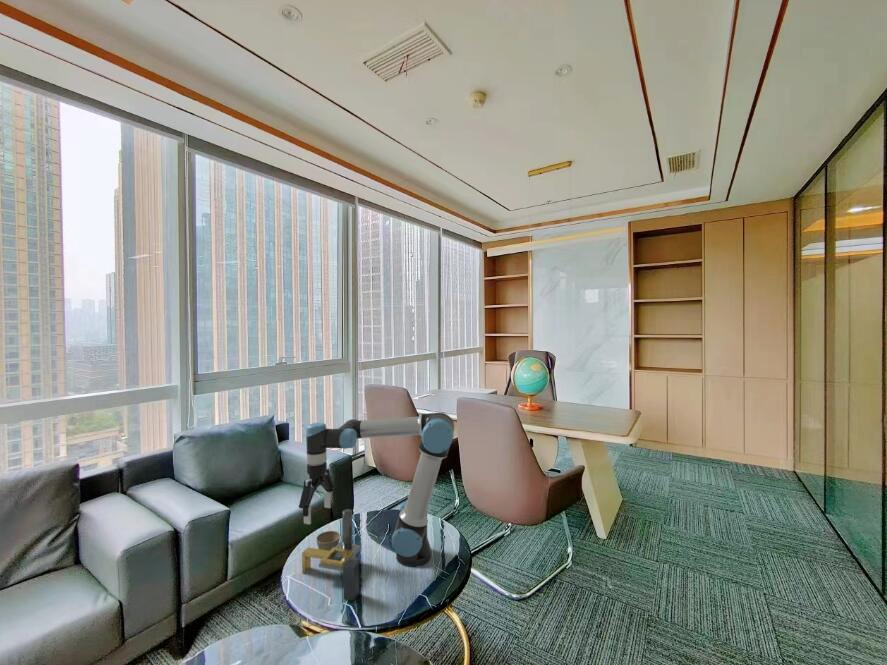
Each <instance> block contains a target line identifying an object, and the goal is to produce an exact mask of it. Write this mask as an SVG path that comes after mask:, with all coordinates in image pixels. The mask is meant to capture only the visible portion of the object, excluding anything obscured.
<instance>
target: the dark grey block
mask: <svg viewBox="0 0 887 665" xmlns="http://www.w3.org/2000/svg"><path fill="white" fill-rule="evenodd" d="M359 561H360V560H359ZM359 561H353V560H348V562H347V563H346V564H345V565H344V570H343V600H346V601H353V602H354V601H355V600H356V598H357V597H358V596H359V595H360V562H359Z"/></svg>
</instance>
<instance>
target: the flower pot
mask: <svg viewBox="0 0 887 665" xmlns="http://www.w3.org/2000/svg"><path fill="white" fill-rule="evenodd" d="M340 540H341V533H340V532H338V531H337V530H328V531H322V532H321V533H319V534H318V535H317V536H316V538H315V541H316V546H317V549H321V550H327V551H330V550H331V549H332V548H333V547H334V548H335V547H336V546H337V545H338V544H339V542H340Z"/></svg>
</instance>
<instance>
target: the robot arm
mask: <svg viewBox="0 0 887 665" xmlns="http://www.w3.org/2000/svg"><path fill="white" fill-rule="evenodd" d="M454 430H455V424H454V421H453V419H452V418H451V416H449V415H448V414H447V413H444V412H430V413H421V414H420V415H419V416H409V417H394V418H381V419H380V418H379V419H378V418H377V419H364V420H359V419H357V418H352V419H349V420H346V422H344V424H342V425H341V426H340V427H339V428H327V426H326V423H325V422H314V423H310V424H308V425H307V426H306V432H305V433H306V435H305V439H306V463H307V464H306V473H307V475H309V476H308V477H309V479H305V480H304V481H303V487H302V492H301V496H300V500H299V505H298V508H299V509H302V516H303V524H304V525H311V524H312V513H311V512H312V508H311V506H310V505H311V503H312V501H313V500H312V499H313V497H314V495H315V491H317V489H318V488H319V487H320V486H321V487H322V488H323V489H324V491H323V504H324V505H323V506H324V508H325V509H331V508H332V492H333V491H334V488H335V484H334V481H333V479H332V476H331V473H330V471H331V470H330V469H329V468H327V467H328V464H327V461H328V460H327V456H328V455H327V449H345V450H347V449H353V448H355V447H356V444H357V440H359V439H369V438H370V439H371V438H373V439H374V438H387V437H389V438H390V437H402V436H403V437H407V436H421V438H420V442H419V446H418V449H419V451H420V455H419V460H418V461H417V465H416V469H415V472H414V476H413V480H412V482H411V488H410V490H409V493H408V497H407V500H406V501H405V500H404V501H403V502H401V504H400V506H399V515H398V518H397V521H396V525H395V529H394V532H393V533H392V535H391V545H392V546H391V547H392V549H393V550H394V551H395V559H396V561H397V562H398V564H400V565H402V566H405V567H412V568H413V567H419V566H420V567H421V566H423V565H425V564H427V563H429V561H430V560H431V558H432V547H431V545H430V541H429V539H428V538H429V537H428V523H429V519H428V511H429V510H428V509H429V505H430V502H431V498H432V495H433V491H434V488H435V485H436V482H437V478H438V476H439V475H438V474H439V471H440V467H441V464H442V460H444V459H446V458H448V453H449V450H450V447H451V445H452V444H453V439H454Z"/></svg>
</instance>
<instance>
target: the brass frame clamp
mask: <svg viewBox="0 0 887 665" xmlns="http://www.w3.org/2000/svg"><path fill="white" fill-rule="evenodd" d="M341 514H342V515H341V520H342V521H341V525H342V526H341V528H342V530H341V534H342V535H341V537H342V542H341V541H339V544H338V545H337V546H336V547H335V548H334V547H333V548H332V549H331V550H330V551H327V550H321V549H319V548H314V547H309V546H308V547H307V548H305V549H304V550H303V551H302V552H301V566H302V567H301V568H302V569H301V570H302V571H301V573H302V574H303V575H304V574H306V573H307V572H309V570H310V569H311V568H312V567H311V566H312V565H311V564H312V562H311V561H312V560H311V558H312V559H313V558H314V559H318V560H320V562H319V564H318V568H323V569H329V570H334V571H337V572H338V571H340V572H344V565H345V564H346V563H347V562H348V560H353V561H360V557H356V555H357V554H358V553H359V552H360V550H361V549H362V544H359V545H358V544H353V510H352V509H351V508H346V509H343V510H342V512H341ZM334 557H339V558H341V559H340V560H336V559H334Z"/></svg>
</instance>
